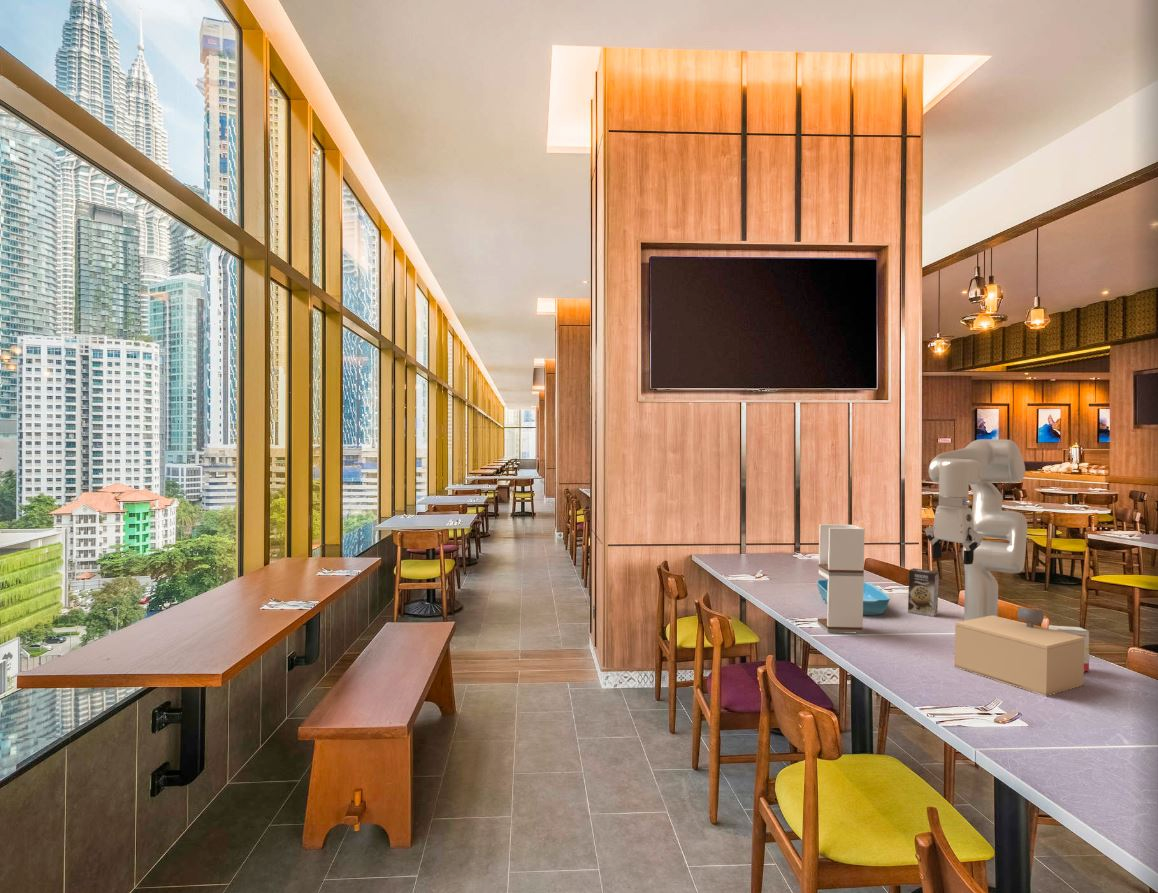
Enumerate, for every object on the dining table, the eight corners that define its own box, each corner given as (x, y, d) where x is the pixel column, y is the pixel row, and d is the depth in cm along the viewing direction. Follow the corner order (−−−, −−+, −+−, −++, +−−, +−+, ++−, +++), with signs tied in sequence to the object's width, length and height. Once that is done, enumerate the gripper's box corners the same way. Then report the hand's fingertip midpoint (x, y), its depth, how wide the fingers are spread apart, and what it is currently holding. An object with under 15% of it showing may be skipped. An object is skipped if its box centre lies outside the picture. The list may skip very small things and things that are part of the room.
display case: (850, 624, 234) (852, 524, 233) (862, 633, 223) (864, 528, 223) (817, 624, 234) (819, 524, 234) (827, 632, 223) (829, 528, 223)
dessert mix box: (907, 612, 252) (908, 569, 251) (912, 609, 256) (912, 567, 256) (933, 617, 246) (934, 573, 245) (938, 613, 250) (939, 570, 250)
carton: (991, 658, 199) (992, 618, 199) (1083, 685, 178) (1084, 640, 178) (954, 667, 191) (955, 625, 190) (1045, 696, 169) (1047, 649, 169)
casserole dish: (898, 619, 242) (898, 600, 242) (834, 617, 245) (834, 597, 244) (865, 596, 279) (866, 579, 279) (810, 594, 281) (810, 577, 281)
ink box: (1079, 667, 193) (1080, 626, 192) (1089, 673, 188) (1090, 631, 188) (1046, 664, 194) (1047, 624, 194) (1055, 670, 189) (1056, 629, 189)
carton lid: (992, 618, 199) (993, 598, 199) (1084, 640, 178) (1084, 618, 178) (955, 625, 190) (955, 604, 190) (1047, 649, 169) (1047, 626, 169)
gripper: (990, 505, 188) (989, 565, 189) (934, 499, 204) (933, 555, 204) (973, 506, 185) (972, 567, 185) (918, 500, 201) (917, 557, 201)
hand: (952, 561), depth 195 cm, fingers open, 9 cm apart
